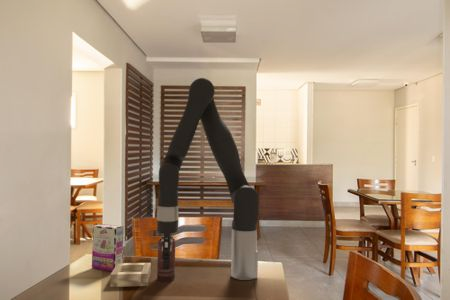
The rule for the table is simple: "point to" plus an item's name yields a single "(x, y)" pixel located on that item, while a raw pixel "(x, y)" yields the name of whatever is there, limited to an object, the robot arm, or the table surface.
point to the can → (161, 273)
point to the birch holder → (130, 274)
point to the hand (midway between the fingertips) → (166, 266)
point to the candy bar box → (107, 246)
